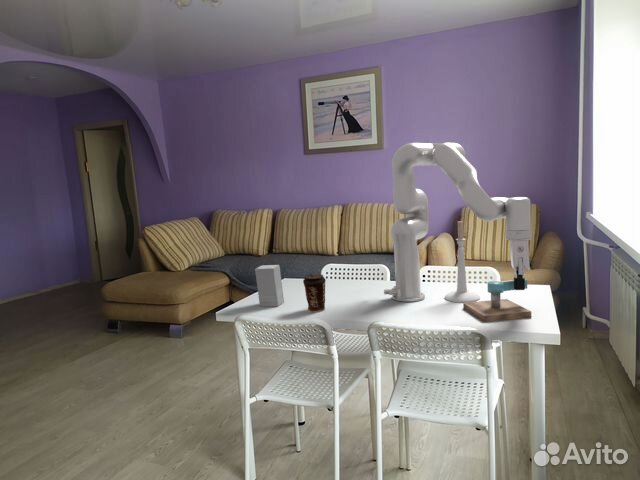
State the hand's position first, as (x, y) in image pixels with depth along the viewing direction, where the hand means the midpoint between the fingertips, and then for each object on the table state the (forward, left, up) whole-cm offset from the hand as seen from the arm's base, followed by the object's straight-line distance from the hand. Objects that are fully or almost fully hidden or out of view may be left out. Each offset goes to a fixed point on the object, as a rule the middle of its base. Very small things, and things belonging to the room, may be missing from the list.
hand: (519, 289), depth 154 cm
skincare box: (-83, +38, -8) cm, 92 cm away
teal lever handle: (-3, +2, -1) cm, 4 cm away
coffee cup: (-66, +25, -8) cm, 71 cm away
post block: (-7, +2, -8) cm, 11 cm away
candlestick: (-10, +23, -8) cm, 27 cm away
